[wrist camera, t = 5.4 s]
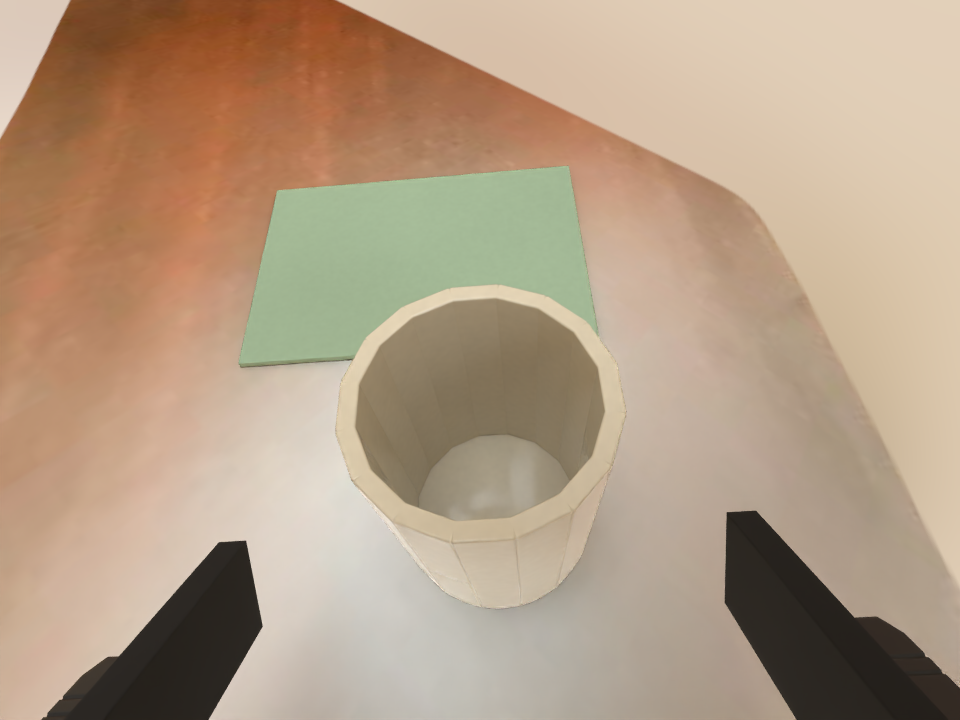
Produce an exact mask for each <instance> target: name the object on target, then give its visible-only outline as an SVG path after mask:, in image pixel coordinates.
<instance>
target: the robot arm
mask: <svg viewBox="0 0 960 720" xmlns="http://www.w3.org/2000/svg"><path fill="white" fill-rule="evenodd" d="M725 604H726V605H727V607H728V609H729V610H730V612H731V613H732V615H733V617H734V618H735V620H736V622H737V623H738V625H739V626H740V628H741V630H742V631H743V633H744V635H745V636H746V638H747V640H748V641H749V643H750V644H751V646H752V648H753V649H754V651H755V653H756V654H757V656H758V658H759V659H760V661H761V662H762V664H763V666H764V667H765V669H766V671H767V672H768V674H769V675H770V677H771V679H772V680H773V682H774V684H775V685H776V687H777V689H778V690H779V692H780V693H781V695H782V697H783V698H784V700H785V702H786V703H787V705H788V706H789V708H790V710H791V711H792V713H793V715H794V716H795V718H796V720H960V688H959V687H958V686H957V685H956V684H955V683H954V682H953V681H952V680H951V679H950V678H949V677H948V676H947V675H946V674H942V672H941V669H940V668H939V667H938V666H937V665H936V664H935V663H934V662H933V661H932V660H931V659H930V658H929V657H925V654H924V652H923V651H922V650H921V649H920V648H919V647H918V646H917V645H916V644H915V643H914V642H913V641H912V640H911V639H910V638H909V637H908V636H907V635H906V634H905V633H903V632H901V631H900V630H898V629H896V628H895V627H893V626H892V625H890V624H888V623H887V622H885V621H883V620H882V619H880V618H878V617H859V618H854V617H853V616H852V614H851V613H850V612H849V611H848V610H847V609H846V608H845V607H844V606H843V605H842V604H841V602H840V601H839V600H838V599H837V598H836V597H835V596H834V595H833V594H832V593H831V592H830V591H829V589H828V588H827V587H826V586H825V585H824V584H823V583H822V582H821V581H820V580H819V579H818V578H817V576H816V575H815V574H814V573H813V572H812V571H811V570H810V569H809V568H808V567H807V566H806V564H805V563H804V562H803V561H802V560H801V559H800V558H799V557H798V556H797V555H796V554H795V553H794V551H793V550H792V549H791V548H790V547H789V546H788V545H787V544H786V543H785V542H784V541H783V540H782V538H781V537H780V536H779V535H778V534H777V533H776V532H775V531H774V530H773V529H772V528H771V526H770V525H769V524H768V523H767V522H766V521H765V520H764V519H763V518H762V517H761V516H760V515H759V513H758V512H757V511H741V512H727V523H726V569H725ZM262 627H263V626H262V621H261V615H260V610H259V605H258V600H257V595H256V590H255V584H254V579H253V574H252V569H251V564H250V559H249V553H248V548H247V543H246V541H232V542H219V543H218V544H217V545H216V546H215V547H214V549H213V550H212V551H211V552H210V553H209V554H208V555H207V557H206V558H205V559H204V560H203V561H202V562H201V563H200V565H199V566H198V567H197V568H196V569H195V570H194V571H193V573H192V574H191V575H190V576H189V577H188V578H187V579H186V581H185V582H184V583H183V584H182V585H181V586H180V587H179V589H178V590H177V591H176V592H175V593H174V594H173V595H172V597H171V598H170V599H169V600H168V601H167V602H166V603H165V605H164V606H163V607H162V608H161V609H160V610H159V611H158V613H157V614H156V615H155V616H154V617H153V618H152V619H151V621H150V622H149V623H148V624H147V625H146V626H145V627H144V628H143V630H142V631H141V632H140V633H139V634H138V635H137V636H136V638H135V639H134V640H133V641H132V642H131V643H130V644H129V646H128V647H127V648H126V649H125V650H124V651H123V652H122V654H121V655H120V656H118V657H107V658H106V659H104V660H103V661H101V662H100V663H99V664H97V665H96V666H95V667H93V668H92V669H90V670H89V671H88V672H86V673H85V674H83V675H82V676H81V677H80V678H79V679H78V681H77V682H76V683H75V684H74V685H73V686H72V687H71V688H70V689H69V690H68V691H67V692H66V694H65V695H64V696H63V699H62V700H59V701H58V702H57V703H56V704H55V706H54V707H53V708H52V709H51V710H50V711H49V712H48V715H47V717H43V719H42V720H209V718H210V716H211V714H212V713H213V711H214V709H215V708H216V706H217V704H218V702H219V701H220V699H221V697H222V695H223V694H224V692H225V690H226V689H227V687H228V685H229V683H230V682H231V680H232V678H233V677H234V675H235V673H236V671H237V670H238V668H239V666H240V665H241V663H242V661H243V659H244V658H245V656H246V654H247V653H248V651H249V649H250V647H251V646H252V644H253V642H254V641H255V639H256V637H257V635H258V634H259V632H260V630H261V629H262Z"/></svg>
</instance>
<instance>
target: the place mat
mask: <svg viewBox="0 0 960 720" xmlns="http://www.w3.org/2000/svg"><path fill="white" fill-rule="evenodd" d="M492 284H498V285H500V284H501V285H505V286H509V287H513V288H517V289H522V290H526V291H530V292H534V293H538V294H542V295H545V296H546V297H547V296H548V297H550V298H551V299H553V300H554V301H556V302H558V303H559V304H561V305H562V306H564V307H565V308H567V309H568V310H570V311H571V312H573V313H574V314H576V315H578V316H579V317H581V318H582V319H584V320H585V321H587V323H589V324H590V326H591V327H592V329H593V330H594V331H595V333H596V334H597V336H598V337H599V335H598V329H597V324H596V318H595V312H594V307H593V301H592V295H591V290H590V284H589V278H588V273H587V267H586V261H585V255H584V250H583V244H582V238H581V233H580V227H579V221H578V216H577V210H576V204H575V199H574V193H573V187H572V182H571V176H570V170H569V166H560V167H548V168H537V169H525V170H513V171H501V172H490V173H478V174H466V175H454V176H442V177H431V178H419V179H407V180H395V181H383V182H372V183H360V184H348V185H336V186H325V187H313V188H301V189H289V190H278V191H277V194H276V198H275V203H274V207H273V212H272V216H271V221H270V225H269V229H268V234H267V238H266V243H265V247H264V252H263V256H262V261H261V265H260V269H259V274H258V278H257V283H256V287H255V292H254V296H253V301H252V305H251V309H250V314H249V318H248V323H247V327H246V332H245V336H244V341H243V345H242V349H241V354H240V358H239V365H240V366H241V367H248V366H262V365H277V364H291V363H305V362H319V361H334V360H348V359H354V357H355V355H356V354H357V352H358V350H359V348H360V346H361V345H362V343H363V341H364V340H365V338H366V337H367V336H368V335H369V334H370V333H372V332H373V331H374V330H375V329H376V328H377V327H379V326H380V325H381V324H382V323H383V322H385V321H386V320H387V319H388V318H389V317H390V316H392V315H393V314H394V313H395V312H396V311H398V310H399V309H400V308H401V307H404V306H405V305H407V304H410V303H412V302H415V301H417V300H420V299H422V298H425V297H427V296H430V295H432V294H435V293H437V292H440V291H442V290H445V289H450V288H453V287H466V286H479V285H492Z"/></svg>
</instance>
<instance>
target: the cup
mask: <svg viewBox="0 0 960 720" xmlns="http://www.w3.org/2000/svg"><path fill="white" fill-rule="evenodd" d="M625 417H626V408H625V402H624V397H623V392H622V387H621V382H620V376H619V371H618V366H617V363H616V361H615V360H614V358H613V357H612V356H611V354H610V353H609V351H608V350H607V349H606V347H605V346H604V344H603V343H602V341H601V340H600V339H599V337H598V336H597V334H596V333H595V331H594V330H593V329H592V327H591V326H590V324H589V323H587V321H585V320H584V319H582V318H581V317H579V316H578V315H576V314H574V313H573V312H571V311H570V310H568V309H567V308H565V307H564V306H562V305H561V304H559V303H558V302H556V301H554V300H553V299H551V298H550V297H548V296H547V297H546V296H545V295H542V294H538V293H534V292H530V291H526V290H522V289H517V288H513V287H509V286H505V285H501V284H500V285H498V284H492V285H479V286H466V287H453V288H450V289H445V290H442V291H440V292H437V293H435V294H432V295H430V296H427V297H425V298H422V299H420V300H417V301H415V302H412V303H410V304H407V305H405V306H404V307H401V308H400V309H399V310H398V311H396V312H395V313H394V314H393V315H392V316H390V317H389V318H388V319H387V320H386V321H385V322H383V323H382V324H381V325H380V326H379V327H377V328H376V329H375V330H374V331H373V332H372V333H370V334H369V335H368V336H367V337H366V338H365V340H364V341H363V343H362V345H361V346H360V348H359V350H358V352H357V354H356V355H355V357H354V359H353V361H352V362H351V364H350V366H349V368H348V370H347V371H346V373H345V375H344V377H343V378H342V382H341V384H340V392H339V401H338V410H337V419H336V428H335V431H336V437H337V440H338V443H339V445H340V448H341V451H342V454H343V457H344V460H345V463H346V466H347V469H348V472H349V474H350V477H351V480H352V481H353V483H354V485H355V486H356V487H357V489H358V490H359V491H360V492H361V494H362V495H363V496H364V497H365V499H366V500H367V501H368V502H369V504H370V505H371V506H372V508H373V509H374V510H375V511H376V513H377V514H378V515H379V516H380V518H381V519H382V520H383V521H384V523H385V524H386V525H387V527H388V528H389V529H390V530H391V532H392V533H393V534H394V535H395V537H396V538H397V539H398V541H399V542H400V543H401V544H402V546H403V547H404V548H405V549H406V551H407V552H408V553H409V554H410V556H411V557H412V558H413V560H414V561H415V562H416V563H417V565H418V566H419V567H420V568H421V569H422V570H423V571H424V572H425V573H426V574H427V575H428V576H429V577H430V578H431V580H432V581H433V582H434V583H435V584H436V585H438V586H439V587H440V589H441V590H442V591H443V592H445V593H446V594H449V595H451V596H452V597H454V598H456V599H458V600H460V601H462V602H465V603H468V604H471V605H474V606H478V607H484V608H493V609H504V608H512V607H517V606H521V605H525V604H528V603H531V602H533V601H535V600H538V599H540V598H541V597H543V596H545V595H546V594H548V593H550V592H551V591H552V590H553V589H555V588H556V587H558V586H559V585H560V584H561V583H562V581H563V580H564V579H565V578H566V577H567V576H568V575H569V574H570V572H571V571H572V569H573V568H574V566H575V565H576V563H577V562H578V561H579V560H580V558H581V556H582V554H583V551H584V548H585V545H586V542H587V539H588V536H589V533H590V530H591V527H592V525H593V522H594V519H595V516H596V513H597V510H598V507H599V504H600V501H601V498H602V495H603V492H604V489H605V486H606V483H607V480H608V477H609V475H610V472H611V469H612V466H613V462H614V459H615V455H616V451H617V447H618V444H619V440H620V436H621V432H622V429H623V425H624V421H625Z"/></svg>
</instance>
